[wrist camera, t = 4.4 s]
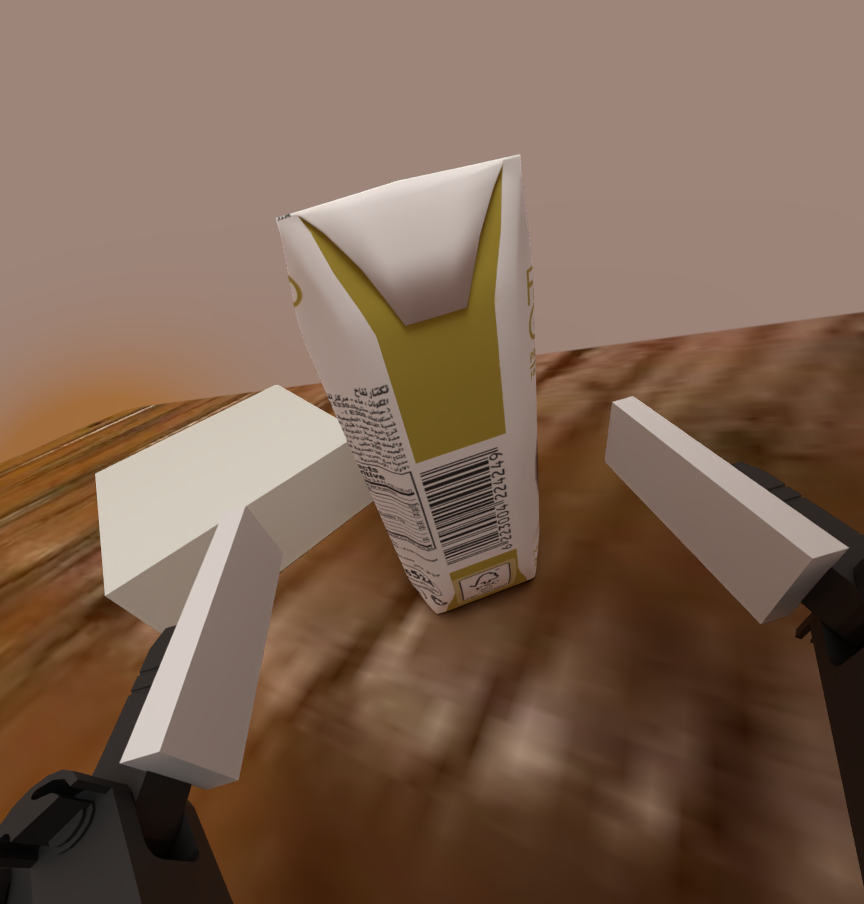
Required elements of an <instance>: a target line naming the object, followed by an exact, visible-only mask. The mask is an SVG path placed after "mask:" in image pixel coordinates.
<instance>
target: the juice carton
mask: <svg viewBox="0 0 864 904" xmlns="http://www.w3.org/2000/svg"><path fill="white" fill-rule="evenodd" d="M276 221H277V225H278V228H279V232H280V236H281V240H282V245H283V250H284V255H285V261H286V266H287V271H288V277H289V283H290V287H291V293H292V298H293V303H294V308H295V313H296V318H297V321H298V324H299V328H300V332H301V335H302V338H303V341H304V343H305V346H306V348H307V350H308V352H309V355H310V357H311V360H312V362H313V364H314V367H315V369H316V371H317V373H318V376H319V378H320V380H321V383H322V385H323V387H324V390H325V392H326V394H327V396H328V399H329V401H330V403H331V405H332V408H333V410H334V412H335V415H336V417H337V419H338V421H339V424H340V426H341V428H342V430H343V433H344V435H345V437H346V439H347V442H348V444H349V446H350V448H351V451H352V453H353V455H354V457H355V460H356V462H357V464H358V466H359V469H360V471H361V473H362V475H363V478H364V480H365V482H366V485H367V487H368V489H369V491H370V494H371V496H372V498H373V500H374V503H375V505H376V507H377V509H378V512H379V514H380V516H381V518H382V521H383V523H384V525H385V527H386V530H387V532H388V534H389V536H390V539H391V541H392V543H393V545H394V548H395V550H396V552H397V554H398V557H399V559H400V561H401V563H402V566H403V568H404V570H405V572H406V574H407V577H408V579H409V580H410V582H411V583H412V585H413V586H414V588H415V589H416V590H417V591H418V593H419V594H420V595H421V596H422V598H423V599H424V600H425V601H426V603H427V604H428V605H429V606H430V608H431V609H432V610H433V611H434V612H435V613H436V614H439V613H443V612H446V611H449V610H451V609H454V608H457V607H459V606H462V605H465V604H467V603H470V602H472V601H475V600H478V599H480V598H483V597H486V596H488V595H491V594H493V593H496V592H499V591H501V590H504V589H507V588H509V587H512V586H514V585H517V584H520V583H522V582H525V581H528V580H530V579H531V578H533V577H535V573H536V565H537V554H538V542H539V497H538V453H537V410H536V366H535V324H534V289H533V288H534V285H533V264H532V252H531V243H530V235H529V227H528V219H527V211H526V204H525V196H524V188H523V181H522V171H521V155H520V154H519V155H515V156H510V157H506V158H501V159H497V160H492V161H487V162H483V163H479V164H474V165H469V166H465V167H460V168H455V169H451V170H446V171H441V172H437V173H432V174H427V175H423V176H418V177H413V178H409V179H404V180H399V181H395V182H392V183H389V184H386V185H383V186H379V187H376V188H373V189H370V190H366V191H363V192H360V193H357V194H353V195H351V196H347V197H344V198H341V199H338V200H334V201H331V202H328V203H325V204H321V205H318V206H315V207H312V208H308V209H305V210H301V211H298V212H295V213H292V214H288V215H285V216H281V217H278V218H276Z"/></svg>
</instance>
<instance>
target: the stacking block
mask: <svg viewBox="0 0 864 904" xmlns="http://www.w3.org/2000/svg"><path fill="white" fill-rule="evenodd" d="M95 476H96V489H97V501H98V514H99V526H100V538H101V551H102V563H103V576H104V588H105V596H106V597H108V598H109V599H110V600H112V601H113V602H115V603H116V604H118V605H119V606H121V607H122V608H124V609H125V610H127V611H128V612H130V613H131V614H133V615H134V616H136V617H137V618H139V619H140V620H142V621H143V622H145V623H146V624H148V625H149V626H151V627H152V628H154V629H155V630H157V631H158V632H160V633H161V634H162V632H163V631H164V630H165V628H168V627H171V626H175V625H177V623H178V621H179V619H180V616H181V614H182V611H183V609H184V606H185V604H186V602H187V599H188V597H189V594H190V592H191V590H192V587H193V585H194V582H195V580H196V577H197V575H198V573H199V570H200V568H201V565H202V563H203V561H204V558H205V556H206V553H207V551H208V549H209V546H210V544H211V541H212V539H213V536H214V534H215V532H216V529H217V527H218V524H219V522H220V520H221V517H222V515H223V512H224V511H226V510H230V509H234V508H237V507H241V506H244V505H246V506H247V507H248V508H249V510H250V511H251V512H252V514H253V515H254V516H255V517H256V519H257V520H258V521H259V523H260V524H261V525H262V526H263V528H264V529H265V530H266V532H267V533H268V534H269V535H270V537H271V538H272V539H273V541H274V542H275V543H276V544H277V546H278V547H279V548H280V550H281V551H282V552H283V557H282V562H281V567H280V572H281V571H282V570H283V569H285V568H286V567H287V566H289V565H290V564H291V563H293V562H294V561H295V560H296V559H298V558H299V557H300V556H302V555H303V554H304V553H306V552H307V551H308V550H310V549H311V548H312V547H314V546H315V545H316V544H317V543H319V542H320V541H321V540H323V539H324V538H325V537H327V536H328V535H329V534H331V533H332V532H333V531H335V530H336V529H337V528H339V527H340V526H341V525H342V524H344V523H345V522H346V521H348V520H349V519H350V518H352V517H353V516H354V515H356V514H357V513H358V512H360V511H361V510H362V509H363V508H365V507H366V506H367V505H369V504H370V503H371V502H373V501H374V500H373V498H372V496H371V494H370V491H369V489H368V487H367V485H366V482H365V480H364V478H363V475H362V473H361V471H360V469H359V466H358V464H357V462H356V460H355V457H354V455H353V453H352V451H351V448H350V446H349V444H348V442H347V439H346V437H345V435H344V433H343V430H342V428H341V426H340V424H339V421H338V419H337V418H335V417H333V416H331V415H330V414H328V413H326V412H324V411H323V410H321V409H319V408H317V407H316V406H314V405H312V404H310V403H309V402H307V401H305V400H303V399H302V398H300V397H298V396H296V395H295V394H293V393H291V392H289V391H288V390H286V389H284V388H282V387H280V386H279V385H274V386H272V387H270V388H268V389H266V390H264V391H262V392H260V393H258V394H256V395H254V396H252V397H250V398H248V399H246V400H244V401H242V402H240V403H238V404H236V405H234V406H232V407H230V408H228V409H226V410H224V411H222V412H220V413H217V414H215V415H213V416H211V417H209V418H207V419H205V420H203V421H201V422H199V423H197V424H195V425H193V426H191V427H189V428H187V429H185V430H183V431H181V432H179V433H177V434H175V435H173V436H171V437H169V438H167V439H165V440H163V441H161V442H159V443H157V444H155V445H153V446H151V447H149V448H147V449H144V450H142V451H140V452H138V453H136V454H134V455H132V456H130V457H128V458H126V459H124V460H122V461H120V462H118V463H116V464H114V465H112V466H110V467H108V468H106V469H104V470H102V471H100V472H98V473H96V474H95Z"/></svg>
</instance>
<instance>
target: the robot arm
mask: <svg viewBox="0 0 864 904" xmlns="http://www.w3.org/2000/svg"><path fill="white" fill-rule="evenodd" d="M605 463H606V464H607V465H608V466H609V467H610V468H611V469H612V470H613V471H614V472H615V473H616V474H617V475H618V476H619V477H620V478H621V479H622V480H623V481H624V482H625V483H626V484H627V486H628V487H629V488H630V489H631V490H632V491H633V492H634V493H635V494H636V495H637V496H638V497H639V498H640V499H641V500H642V501H643V502H644V503H645V504H646V505H647V506H648V507H649V508H650V509H651V511H652V512H653V513H654V514H655V515H656V516H657V517H658V518H659V519H660V520H661V521H662V522H663V523H664V524H665V525H666V526H667V527H668V528H669V529H670V530H671V531H672V532H673V533H674V535H675V536H676V537H677V538H678V539H679V540H680V541H681V542H682V543H683V544H684V545H685V546H686V547H687V548H688V549H689V550H690V551H691V552H692V553H693V554H694V555H695V556H696V557H697V558H698V560H699V561H700V562H701V563H702V564H703V565H704V566H705V567H706V568H707V569H708V570H709V571H710V572H711V573H712V574H713V575H714V576H715V577H716V578H717V579H718V580H719V581H720V582H721V583H722V585H723V586H724V587H725V588H726V589H727V590H728V591H729V592H730V593H731V594H732V595H733V596H734V597H735V598H736V599H737V600H738V601H739V602H740V603H741V604H742V605H743V606H744V607H745V609H746V610H747V611H748V612H749V613H750V614H751V615H752V616H753V617H754V618H755V619H756V620H757V621H758V622H759V623H760V624H763V623H767V622H770V621H773V620H777V619H780V618H783V617H787V616H790V615H791V614H792V613H793V611H794V610H795V609H796V608H797V607H798V606H799V605H800V603H802V604H804V605H805V606H806V607H807V608H808V609H809V610H810V611H811V612H812V613H811V614H810V615H809V616H808V617H807V618H806V619H805V621H804V622H803V623H802V624H801V625H800V626H799V627H798V628H797V629H796V635H795V637H796V638H799V639H802V638H803V637H804V636H805V635H806V634H807V633H808V632H809V631H810V630H811V634H812V639H811V642H812V643H814V648H815V653H816V658H817V663H818V668H819V672H820V677H821V682H822V687H823V692H824V697H825V701H826V706H827V711H828V716H829V721H830V725H831V730H832V735H833V740H834V745H835V750H836V754H837V759H838V764H839V769H840V774H841V779H842V783H843V788H844V793H845V798H846V803H847V808H848V812H849V817H850V822H851V827H852V832H853V837H854V841H855V846H856V851H857V856H858V861H859V866H860V870H861V875H862V880H863V885H864V536H863V535H861V534H859V533H858V532H856V531H855V530H853V529H852V528H850V527H849V526H847V525H846V524H844V523H843V522H841V521H840V520H838V519H837V518H835V517H834V516H832V515H831V514H829V513H828V512H826V511H825V510H823V509H822V508H820V507H819V506H817V505H816V504H814V503H812V502H811V501H809V500H808V499H806V498H802V497H801V495H800V494H799V493H797V492H796V491H794V490H793V489H791V488H790V487H785V484H784V483H782V482H781V481H779V480H778V479H776V478H775V477H773V476H772V475H770V474H769V473H767V472H765V471H763V470H761V469H758V468H756V467H753V466H751V465H748V464H745V463H743V462H738V463H735V464H732V465H730V464H729V463H727V462H726V461H725V460H723V459H722V458H720V457H719V456H718V455H716V454H715V453H713V452H712V451H710V450H709V449H708V448H706V447H705V446H703V445H702V444H700V443H699V442H698V441H696V440H695V439H693V438H692V437H690V436H689V435H688V434H686V433H685V432H683V431H682V430H681V429H679V428H678V427H676V426H675V425H673V424H672V423H671V422H669V421H668V420H666V419H665V418H663V417H662V416H661V415H659V414H658V413H656V412H655V411H653V410H652V409H651V408H649V407H648V406H646V405H645V404H644V403H642V402H641V401H639V400H638V399H636V398H635V397H634V396H632V397H629V398H625V399H622V400H618V401H615V402H612V409H611V416H610V424H609V431H608V439H607V447H606V454H605ZM282 557H283V552H282V551H281V550H280V548H279V547H278V546H277V544H276V543H275V542H274V541H273V539H272V538H271V537H270V535H269V534H268V533H267V532H266V530H265V529H264V528H263V526H262V525H261V524H260V523H259V521H258V520H257V519H256V517H255V516H254V515H253V514H252V512H251V511H250V510H249V508H248V507H247V506H246V505H244V506H241V507H237V508H234V509H230V510H226V511H224V512H223V515H222V517H221V520H220V522H219V524H218V527H217V529H216V532H215V534H214V536H213V539H212V541H211V544H210V546H209V549H208V551H207V553H206V556H205V558H204V561H203V563H202V565H201V568H200V570H199V573H198V575H197V577H196V580H195V582H194V585H193V587H192V590H191V592H190V594H189V597H188V599H187V602H186V604H185V606H184V609H183V611H182V614H181V616H180V619H179V621H178V623H177V625H175V626H171V627H168V628H165V630H164V631H163V632H162V634H161V635H160V636H159V638H158V639H157V640H156V642H155V643H154V644H153V646H152V647H151V648H150V650H149V652H148V654H147V656H146V659H145V661H144V663H143V665H142V668H141V670H140V676H138V677H137V679H136V681H135V683H134V685H133V687H132V690H131V692H132V694H131V695H130V696H128V699H127V701H126V703H125V705H124V707H123V710H122V712H121V714H120V716H119V718H118V721H117V723H116V725H115V727H114V729H113V732H112V734H111V736H110V738H109V741H108V743H107V745H106V747H105V749H104V752H103V754H102V756H101V758H100V760H99V763H98V765H97V767H96V769H95V771H94V773H93V775H92V776H90V775H87V774H83V773H79V772H75V771H69V770H61V771H58V772H56V773H53V774H51V775H48V776H47V777H45V778H44V779H43V780H41V781H40V782H39V783H37V784H36V785H35V786H33V787H32V788H31V789H30V790H29V791H28V792H27V793H26V794H25V795H24V796H23V797H22V798H21V799H20V800H19V801H18V802H17V803H16V804H15V805H14V807H13V808H12V809H11V811H10V812H9V814H8V815H7V816H6V818H5V819H4V820H3V822H2V823H1V825H0V904H233V902H232V899H231V897H230V894H229V892H228V889H227V887H226V884H225V882H224V880H223V877H222V875H221V872H220V870H219V867H218V865H217V862H216V860H215V857H214V855H213V852H212V850H211V847H210V845H209V843H208V840H207V838H206V835H205V833H204V830H203V828H202V825H201V823H200V820H199V818H198V815H197V813H196V810H195V808H194V806H193V805H192V804H191V803H190V802H189V801H188V800H187V799H188V795H189V792H190V788H191V785H193V786H196V787H199V788H203V789H206V790H208V789H211V788H214V787H218V786H221V785H224V784H228V783H231V782H234V781H238V780H239V775H240V770H241V765H242V760H243V754H244V749H245V744H246V739H247V734H248V729H249V724H250V719H251V714H252V709H253V704H254V699H255V694H256V689H257V684H258V678H259V673H260V668H261V663H262V658H263V653H264V648H265V643H266V638H267V633H268V628H269V623H270V618H271V613H272V608H273V603H274V597H275V592H276V587H277V582H278V577H279V572H280V567H281V562H282Z"/></svg>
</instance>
